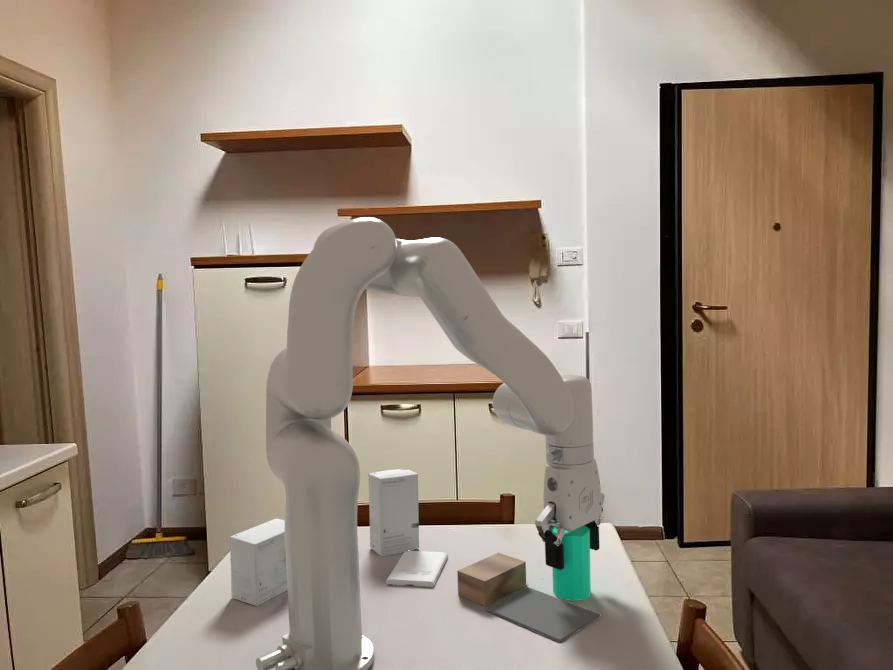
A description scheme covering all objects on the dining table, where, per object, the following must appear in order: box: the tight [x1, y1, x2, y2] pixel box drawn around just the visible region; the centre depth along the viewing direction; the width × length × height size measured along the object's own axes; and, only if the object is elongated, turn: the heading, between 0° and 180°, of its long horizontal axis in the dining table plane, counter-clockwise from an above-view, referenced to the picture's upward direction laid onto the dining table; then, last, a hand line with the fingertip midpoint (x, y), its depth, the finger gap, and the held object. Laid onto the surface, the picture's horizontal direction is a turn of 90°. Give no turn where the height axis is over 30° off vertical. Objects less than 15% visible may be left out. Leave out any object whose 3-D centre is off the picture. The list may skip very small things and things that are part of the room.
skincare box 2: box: [367, 468, 420, 558], centre depth 131 cm, size 8×6×15 cm
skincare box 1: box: [229, 518, 288, 607], centre depth 115 cm, size 10×6×10 cm, turn 148°
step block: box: [456, 552, 527, 607], centre depth 112 cm, size 10×6×4 cm, turn 134°
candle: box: [552, 523, 591, 601], centre depth 110 cm, size 6×6×12 cm
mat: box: [485, 586, 601, 643], centre depth 104 cm, size 10×14×1 cm
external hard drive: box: [386, 550, 449, 588], centre depth 121 cm, size 2×8×12 cm
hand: (573, 557), depth 110 cm, fingers open, 9 cm apart
